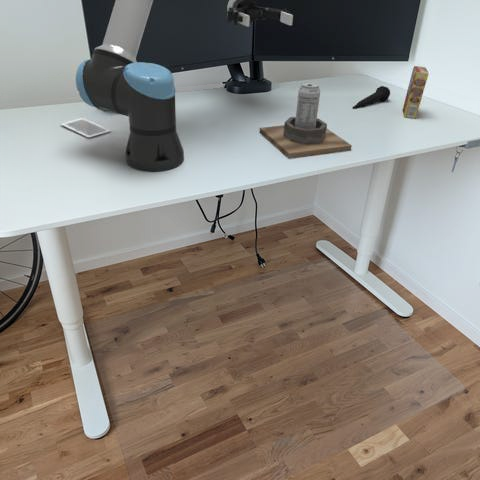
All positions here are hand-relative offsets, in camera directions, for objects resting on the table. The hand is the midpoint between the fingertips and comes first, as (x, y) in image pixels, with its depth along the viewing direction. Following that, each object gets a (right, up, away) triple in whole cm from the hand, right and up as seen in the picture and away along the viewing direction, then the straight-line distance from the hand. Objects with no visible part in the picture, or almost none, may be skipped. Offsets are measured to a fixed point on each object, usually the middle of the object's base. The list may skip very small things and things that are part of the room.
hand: (270, 20), depth 131 cm
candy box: (+51, -19, +30) cm, 62 cm away
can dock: (+10, -33, +5) cm, 35 cm away
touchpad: (-55, -30, +7) cm, 63 cm away
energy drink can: (+10, -32, +4) cm, 34 cm away
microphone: (+39, -13, +39) cm, 56 cm away
